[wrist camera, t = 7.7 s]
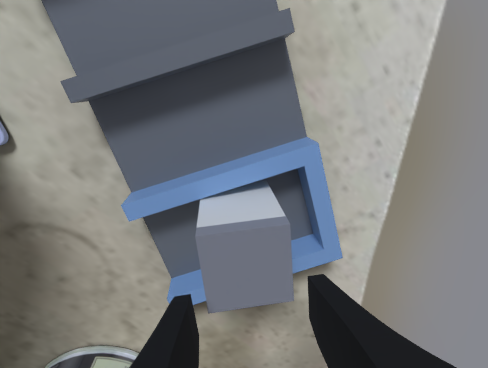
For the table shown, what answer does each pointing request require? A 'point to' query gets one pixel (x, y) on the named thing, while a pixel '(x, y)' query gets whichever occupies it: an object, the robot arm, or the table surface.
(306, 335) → the table surface
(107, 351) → the coffee can
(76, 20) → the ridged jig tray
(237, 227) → the grey square block
